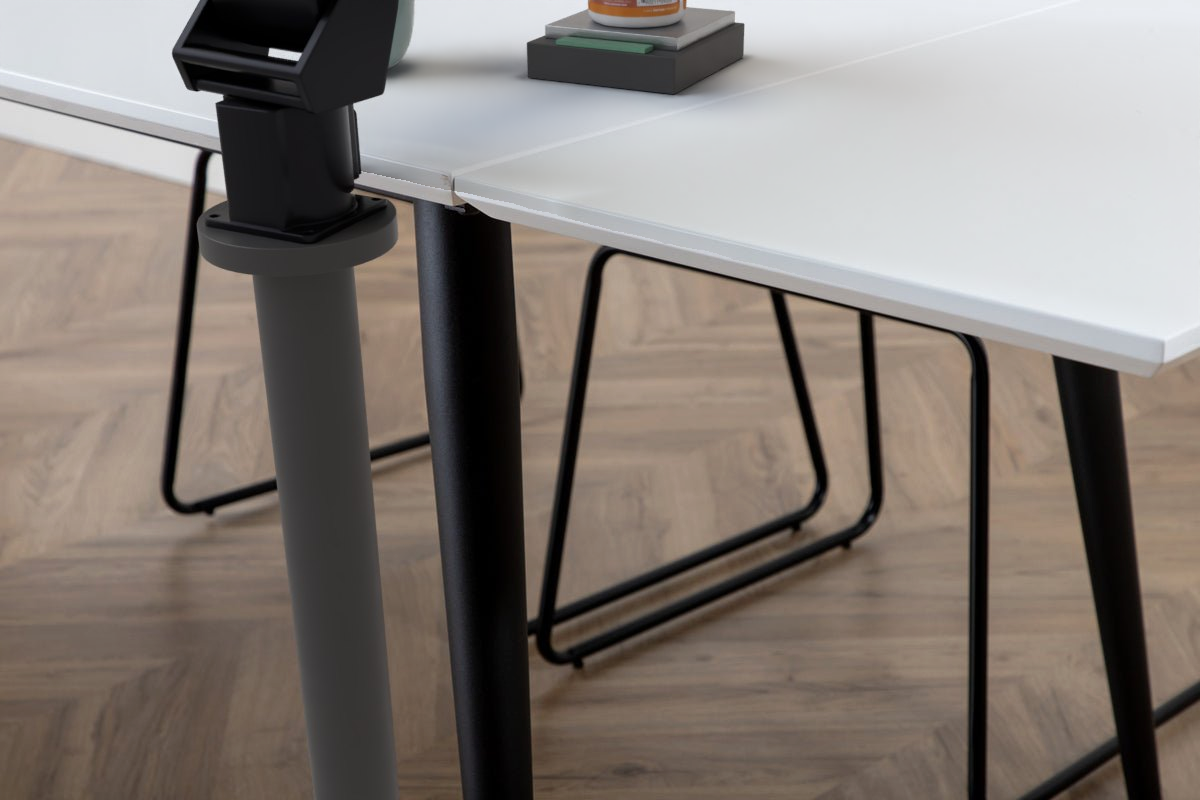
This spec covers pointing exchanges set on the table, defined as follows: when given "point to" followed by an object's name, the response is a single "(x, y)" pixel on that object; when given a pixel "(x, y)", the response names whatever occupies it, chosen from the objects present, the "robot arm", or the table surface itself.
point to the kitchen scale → (637, 51)
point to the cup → (402, 31)
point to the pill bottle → (636, 12)
